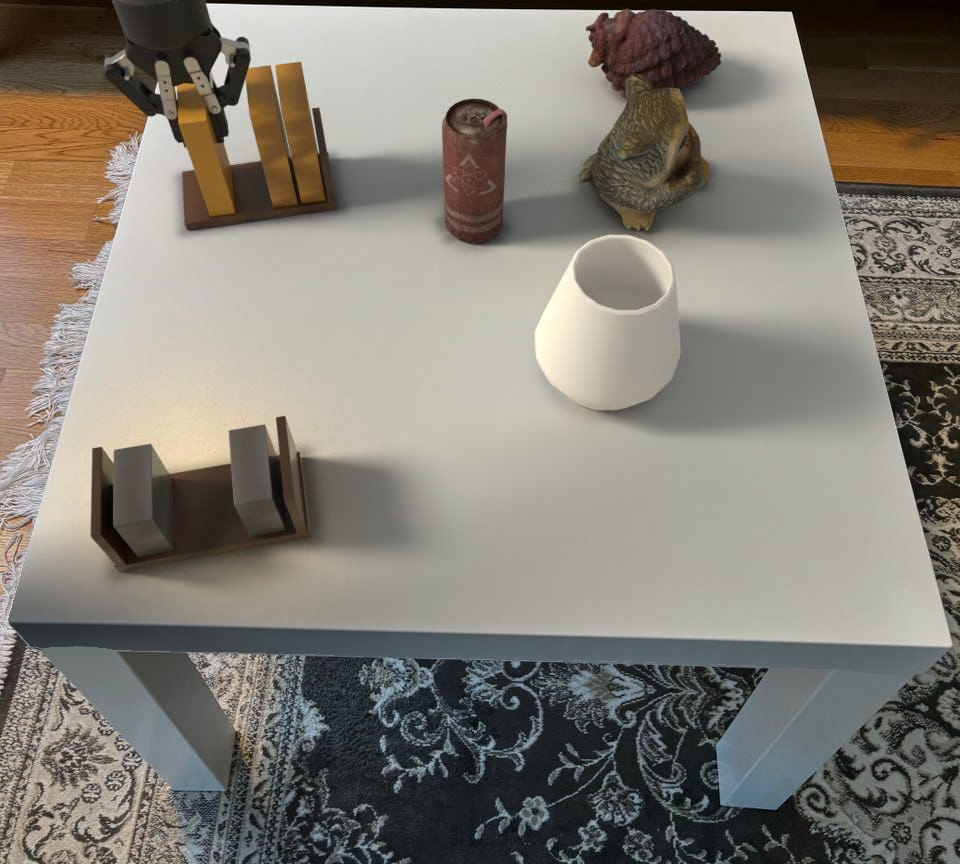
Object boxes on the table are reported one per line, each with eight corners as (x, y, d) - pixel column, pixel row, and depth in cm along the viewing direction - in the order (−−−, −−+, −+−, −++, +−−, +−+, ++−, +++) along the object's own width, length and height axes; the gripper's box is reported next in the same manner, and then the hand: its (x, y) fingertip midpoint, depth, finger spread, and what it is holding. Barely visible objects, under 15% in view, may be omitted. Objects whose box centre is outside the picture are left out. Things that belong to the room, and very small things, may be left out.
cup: (542, 305, 89) (554, 202, 77) (676, 326, 88) (709, 225, 76) (520, 416, 82) (529, 322, 70) (665, 441, 81) (699, 350, 69)
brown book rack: (118, 572, 74) (87, 537, 68) (118, 488, 78) (89, 448, 72) (311, 536, 76) (297, 499, 70) (301, 456, 80) (287, 415, 74)
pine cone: (696, 44, 111) (745, 4, 101) (697, 122, 110) (746, 90, 101) (566, 21, 105) (604, -23, 96) (567, 104, 105) (605, 68, 95)
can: (515, 231, 94) (522, 123, 82) (463, 253, 92) (462, 147, 80) (485, 195, 97) (488, 86, 85) (434, 217, 95) (430, 108, 83)
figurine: (721, 248, 93) (761, 133, 80) (582, 246, 93) (600, 131, 80) (704, 155, 100) (738, 35, 88) (575, 153, 100) (591, 33, 87)
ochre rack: (186, 230, 94) (148, 131, 82) (184, 178, 98) (147, 76, 87) (338, 209, 95) (320, 109, 84) (329, 158, 99) (311, 56, 88)
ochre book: (210, 217, 93) (178, 124, 83) (207, 171, 97) (176, 76, 87) (235, 213, 94) (206, 120, 83) (231, 167, 97) (203, 73, 87)
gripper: (232, -59, 77) (270, 106, 92) (66, -42, 76) (132, 124, 90) (238, -9, 73) (277, 156, 88) (64, 11, 72) (133, 175, 87)
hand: (203, 139), depth 89 cm, fingers closed on ochre book, 2 cm apart
